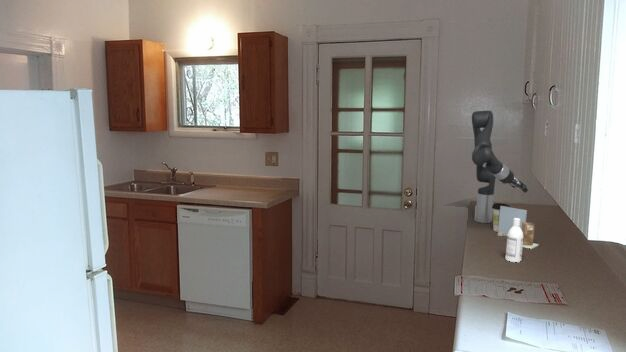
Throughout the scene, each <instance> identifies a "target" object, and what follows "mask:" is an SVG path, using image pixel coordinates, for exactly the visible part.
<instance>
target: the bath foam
mask: <svg viewBox="0 0 626 352" xmlns="http://www.w3.org/2000/svg"><path fill="white" fill-rule="evenodd" d="M505 247H506V248H505V257H504V258H505V260H506V261H508V262H509V261H510V263H515V262H517V263H521V262H522V257H523V248H524V247H523V232H522V230H521V228H520V219H519V218H514V219H513V226H512V228H511V229H510V230H509V232H508V235H507V236H506V246H505ZM520 261H521V262H520Z"/></svg>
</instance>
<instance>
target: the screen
mask: <svg viewBox="0 0 626 352" xmlns="http://www.w3.org/2000/svg"><path fill="white" fill-rule="evenodd" d="M527 214H528V210H526V209H523V208H516V207H510V206H509V207H506V206H500V217H499V229H498V232H497V236H498V237H503V236H504V237H507V235H508V232H509V230H510V229H511V228H512V226H513V219H514V218H519V219H520V228H521V229H522V222H527V216H528V215H527Z"/></svg>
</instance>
